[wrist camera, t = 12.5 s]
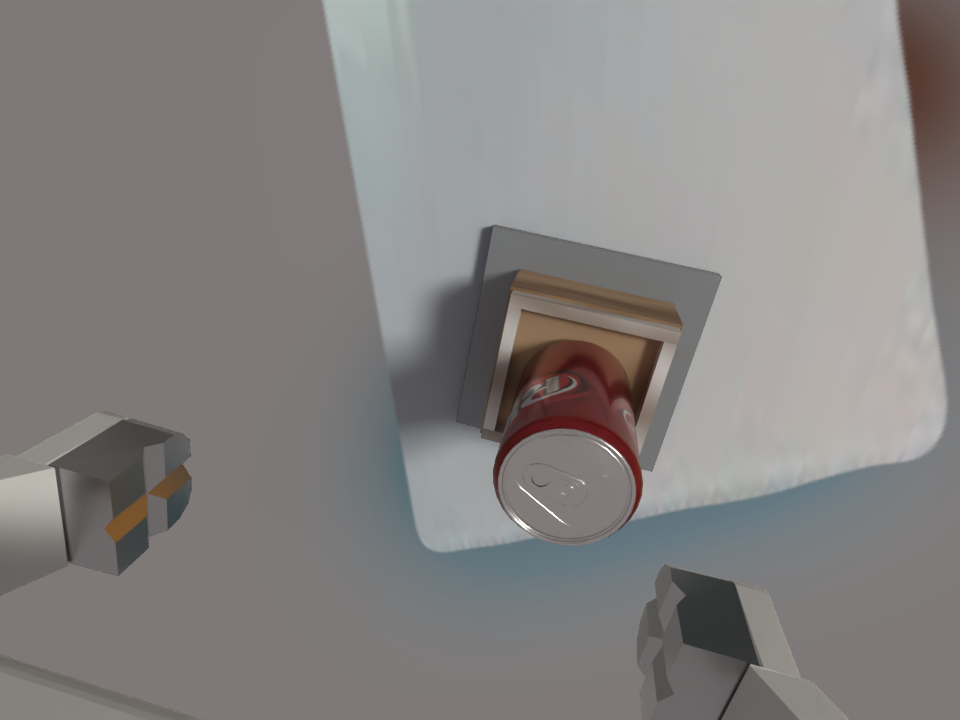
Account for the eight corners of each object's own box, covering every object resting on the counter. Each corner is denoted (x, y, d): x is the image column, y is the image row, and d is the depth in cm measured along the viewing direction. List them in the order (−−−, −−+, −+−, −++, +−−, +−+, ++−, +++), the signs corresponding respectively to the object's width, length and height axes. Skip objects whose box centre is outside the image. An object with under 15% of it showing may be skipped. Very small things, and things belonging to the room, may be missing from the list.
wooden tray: (520, 268, 41) (508, 290, 36) (673, 303, 40) (685, 330, 35) (491, 402, 46) (477, 439, 40) (629, 436, 45) (634, 480, 39)
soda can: (652, 371, 37) (675, 471, 26) (593, 453, 40) (592, 575, 29) (553, 316, 37) (535, 395, 26) (501, 403, 40) (466, 507, 29)
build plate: (495, 224, 42) (492, 226, 41) (719, 273, 40) (721, 276, 39) (459, 416, 48) (456, 421, 47) (650, 464, 46) (652, 471, 45)
